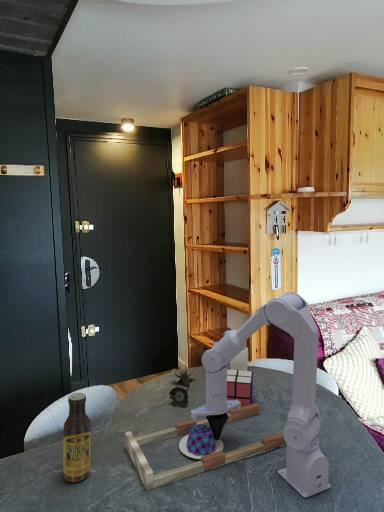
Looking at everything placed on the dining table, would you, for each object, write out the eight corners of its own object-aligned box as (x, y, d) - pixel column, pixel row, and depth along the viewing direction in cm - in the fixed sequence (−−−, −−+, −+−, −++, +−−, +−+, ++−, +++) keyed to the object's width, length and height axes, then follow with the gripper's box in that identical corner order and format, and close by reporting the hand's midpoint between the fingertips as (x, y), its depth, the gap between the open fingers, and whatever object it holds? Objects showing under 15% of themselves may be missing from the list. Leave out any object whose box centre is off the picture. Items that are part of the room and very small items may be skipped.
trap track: (294, 442, 103) (294, 429, 103) (146, 490, 85) (146, 474, 85) (256, 412, 119) (256, 400, 119) (125, 446, 101) (125, 432, 101)
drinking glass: (248, 392, 133) (249, 351, 131) (229, 392, 133) (230, 351, 132) (246, 384, 140) (246, 345, 138) (228, 383, 140) (228, 345, 138)
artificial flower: (164, 410, 123) (157, 380, 124) (181, 388, 145) (175, 363, 146) (190, 406, 121) (182, 375, 122) (203, 384, 144) (197, 358, 144)
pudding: (188, 466, 93) (188, 446, 93) (172, 440, 104) (172, 422, 104) (231, 455, 98) (231, 436, 97) (211, 431, 109) (211, 413, 108)
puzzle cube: (251, 413, 118) (251, 383, 118) (219, 410, 120) (219, 380, 119) (252, 399, 128) (252, 370, 127) (223, 396, 130) (223, 368, 129)
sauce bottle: (64, 487, 86) (61, 405, 84) (62, 470, 92) (59, 393, 90) (93, 479, 89) (91, 399, 87) (89, 463, 94) (87, 388, 92)
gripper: (231, 380, 108) (231, 424, 109) (185, 389, 102) (186, 437, 103) (245, 390, 102) (244, 437, 103) (197, 401, 96) (197, 451, 97)
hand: (216, 438), depth 103 cm, fingers closed
